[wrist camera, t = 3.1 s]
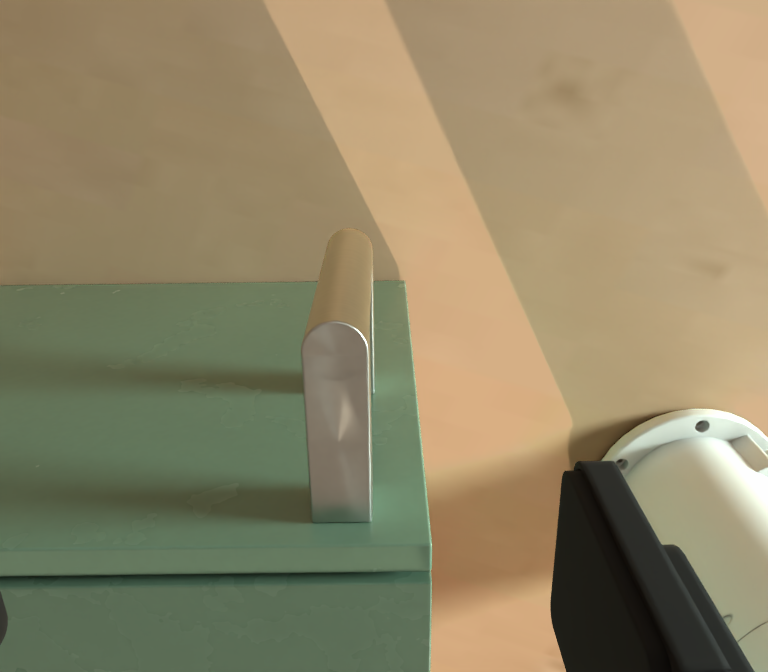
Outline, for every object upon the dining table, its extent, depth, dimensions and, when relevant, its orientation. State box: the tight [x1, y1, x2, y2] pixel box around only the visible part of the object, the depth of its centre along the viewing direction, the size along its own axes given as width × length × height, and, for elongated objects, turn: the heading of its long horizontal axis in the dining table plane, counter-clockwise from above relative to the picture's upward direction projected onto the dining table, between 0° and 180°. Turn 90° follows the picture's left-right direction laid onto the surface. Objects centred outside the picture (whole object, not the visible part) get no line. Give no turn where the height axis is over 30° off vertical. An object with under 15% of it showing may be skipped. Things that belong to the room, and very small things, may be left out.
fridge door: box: [0, 228, 432, 576], centre depth 30 cm, size 7×24×24 cm, turn 91°
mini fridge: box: [0, 571, 432, 672], centre depth 35 cm, size 17×24×24 cm
